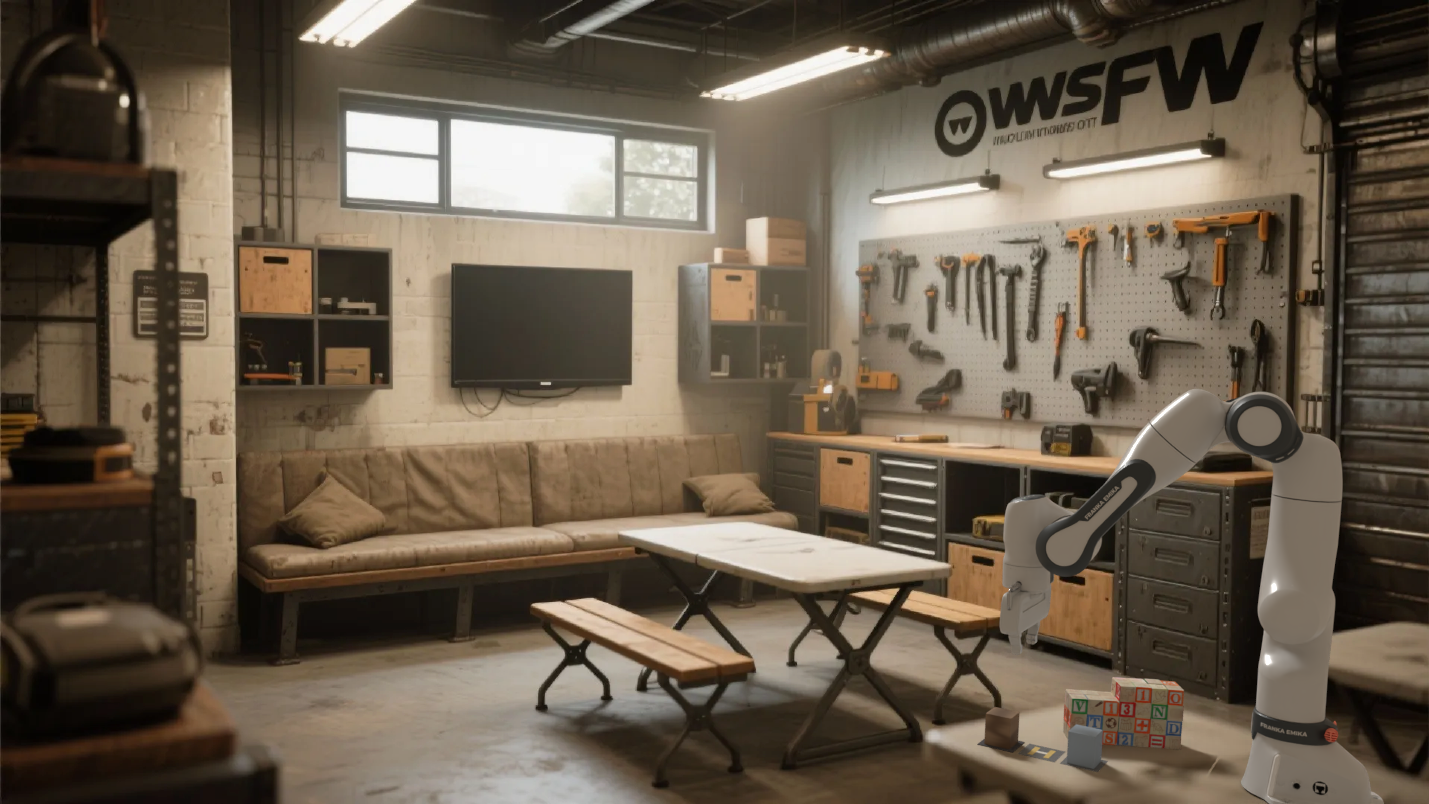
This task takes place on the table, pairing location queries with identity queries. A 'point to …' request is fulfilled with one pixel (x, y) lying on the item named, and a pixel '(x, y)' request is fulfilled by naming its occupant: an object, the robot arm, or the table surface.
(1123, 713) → the stack of blocks
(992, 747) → the rubber mat
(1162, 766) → the table surface
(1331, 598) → the robot arm
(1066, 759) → the code tile
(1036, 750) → the code tile
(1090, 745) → the slate-blue block
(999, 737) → the walnut block
